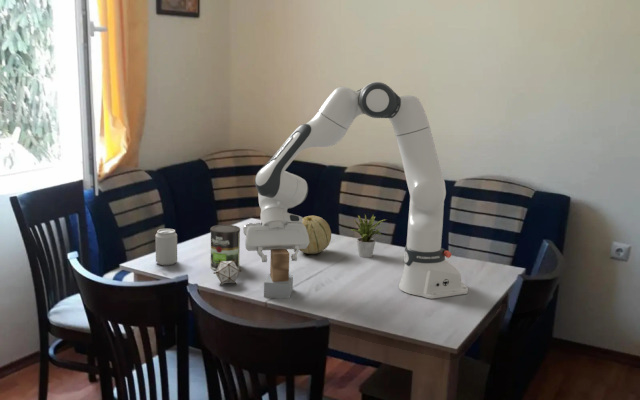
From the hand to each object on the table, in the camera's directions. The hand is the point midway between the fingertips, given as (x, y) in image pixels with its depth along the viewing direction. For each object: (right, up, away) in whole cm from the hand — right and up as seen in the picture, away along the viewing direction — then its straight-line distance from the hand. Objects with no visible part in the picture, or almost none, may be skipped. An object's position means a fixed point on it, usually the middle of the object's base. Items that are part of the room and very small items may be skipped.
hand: (279, 260), depth 199 cm
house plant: (+30, -3, +44) cm, 53 cm away
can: (-42, -4, +28) cm, 50 cm away
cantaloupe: (+9, -2, +46) cm, 47 cm away
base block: (-1, -11, +3) cm, 11 cm away
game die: (-18, -9, +10) cm, 22 cm away
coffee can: (-21, -5, +26) cm, 34 cm away
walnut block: (0, -6, +2) cm, 6 cm away
